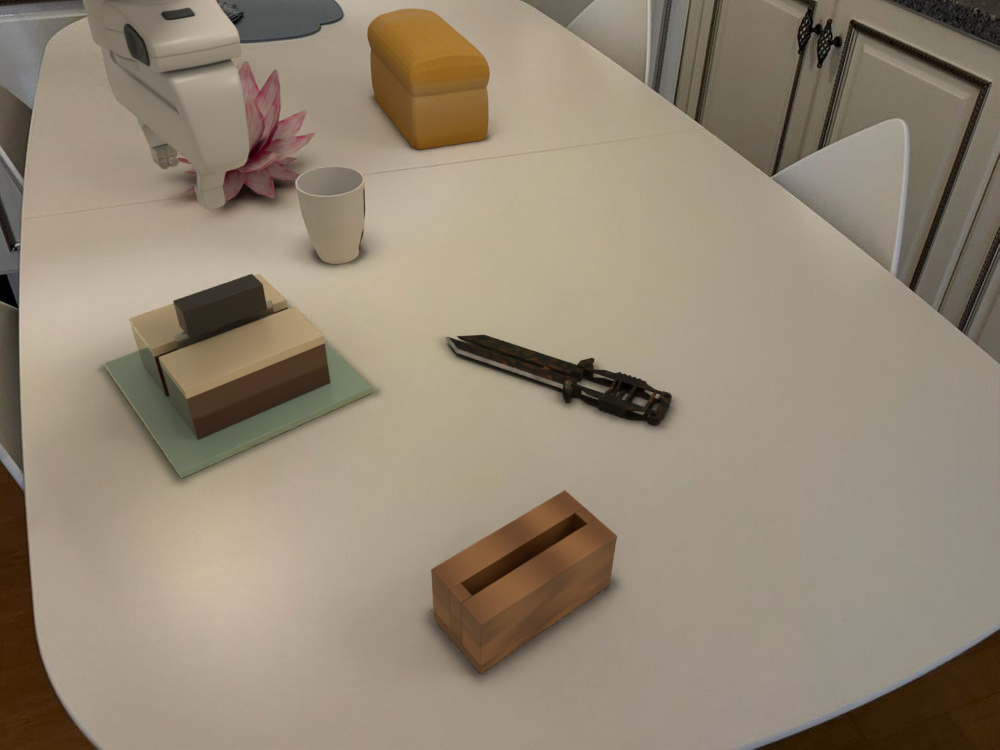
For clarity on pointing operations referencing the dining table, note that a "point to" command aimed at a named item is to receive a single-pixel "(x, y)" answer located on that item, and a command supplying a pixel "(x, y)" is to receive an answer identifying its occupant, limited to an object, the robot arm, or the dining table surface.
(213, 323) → the metal bench scraper
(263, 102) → the decorative flower
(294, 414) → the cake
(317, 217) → the cup
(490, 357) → the knife
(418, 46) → the bread
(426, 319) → the dining table surface
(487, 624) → the knife block
